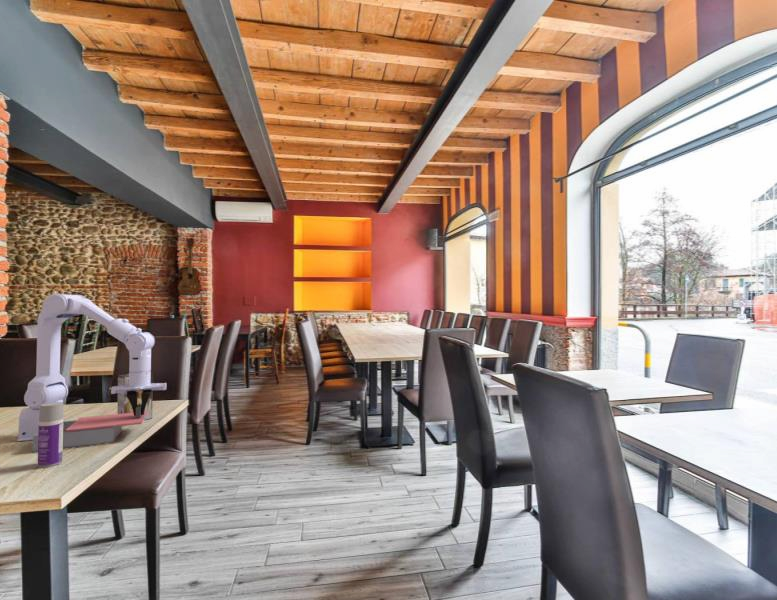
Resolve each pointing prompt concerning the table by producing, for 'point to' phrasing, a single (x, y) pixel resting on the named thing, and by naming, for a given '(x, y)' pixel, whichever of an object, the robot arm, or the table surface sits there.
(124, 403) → the coffee box
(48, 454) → the container
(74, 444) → the carton
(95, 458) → the table surface
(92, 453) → the table surface
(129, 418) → the lid
